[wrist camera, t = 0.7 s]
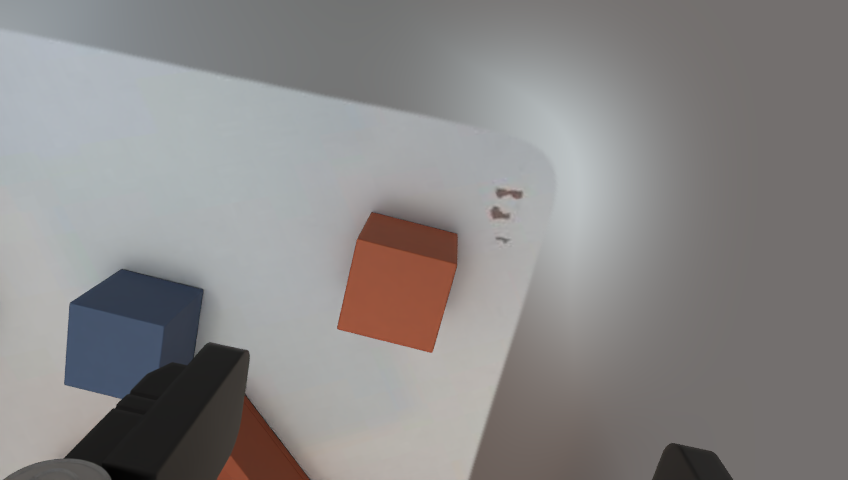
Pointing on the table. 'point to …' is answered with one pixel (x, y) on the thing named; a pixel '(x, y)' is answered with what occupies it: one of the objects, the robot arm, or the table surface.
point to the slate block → (129, 331)
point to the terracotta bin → (259, 452)
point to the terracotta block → (399, 282)
